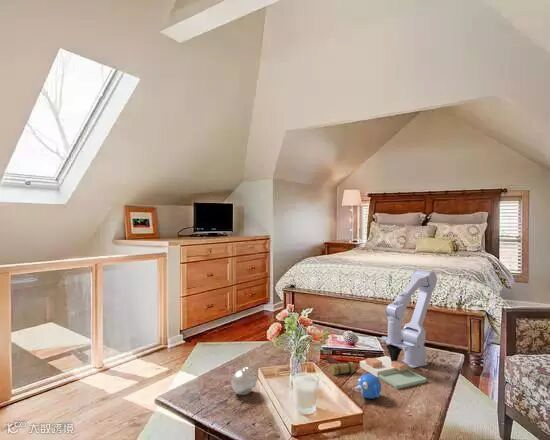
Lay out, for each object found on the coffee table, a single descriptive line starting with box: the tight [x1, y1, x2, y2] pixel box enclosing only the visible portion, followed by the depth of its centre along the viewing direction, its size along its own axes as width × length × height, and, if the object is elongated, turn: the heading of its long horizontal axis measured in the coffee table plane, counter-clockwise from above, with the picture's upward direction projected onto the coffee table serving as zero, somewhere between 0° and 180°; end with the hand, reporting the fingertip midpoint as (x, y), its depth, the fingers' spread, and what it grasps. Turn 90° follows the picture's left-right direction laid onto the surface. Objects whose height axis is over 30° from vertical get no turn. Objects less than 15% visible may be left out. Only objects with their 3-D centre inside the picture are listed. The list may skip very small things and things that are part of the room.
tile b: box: [365, 357, 382, 368], centre depth 158 cm, size 5×5×2 cm
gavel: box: [324, 354, 356, 376], centre depth 163 cm, size 21×5×10 cm
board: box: [359, 355, 398, 378], centre depth 160 cm, size 16×12×2 cm
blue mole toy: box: [351, 373, 382, 400], centre depth 134 cm, size 12×12×8 cm
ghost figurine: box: [230, 366, 257, 396], centre depth 136 cm, size 9×10×10 cm
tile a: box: [391, 359, 409, 371], centre depth 156 cm, size 5×5×2 cm
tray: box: [377, 368, 428, 390], centre depth 149 cm, size 16×11×2 cm
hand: (394, 361), depth 159 cm, fingers closed
